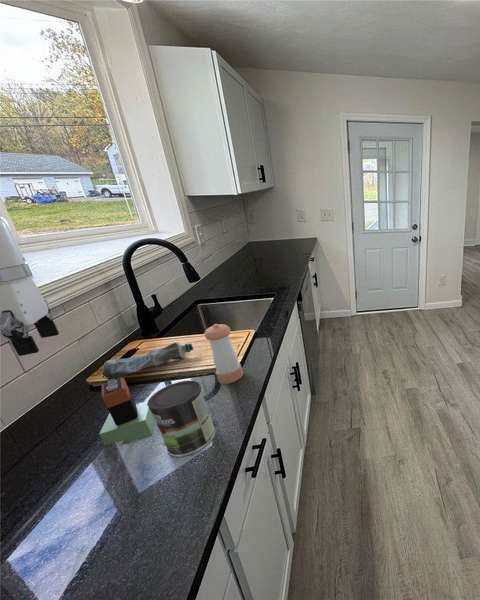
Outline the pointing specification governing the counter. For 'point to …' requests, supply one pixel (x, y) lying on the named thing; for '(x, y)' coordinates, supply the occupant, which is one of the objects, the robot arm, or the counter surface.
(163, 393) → the coffee can
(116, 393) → the battery
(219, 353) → the pepper shaker
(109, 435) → the block
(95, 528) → the counter surface
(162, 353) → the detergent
